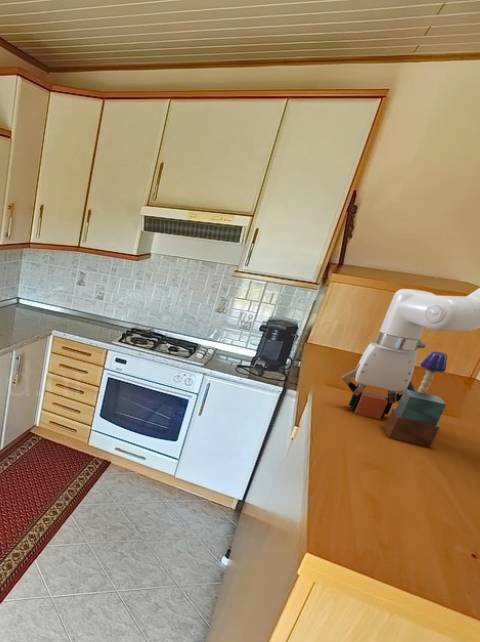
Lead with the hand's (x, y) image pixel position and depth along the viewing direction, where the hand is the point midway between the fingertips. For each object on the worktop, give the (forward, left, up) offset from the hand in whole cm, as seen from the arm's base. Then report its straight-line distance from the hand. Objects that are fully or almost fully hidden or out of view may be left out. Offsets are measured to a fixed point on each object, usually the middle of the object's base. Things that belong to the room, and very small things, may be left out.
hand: (366, 411), depth 121 cm
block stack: (-6, +12, 0) cm, 13 cm away
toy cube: (0, 0, 0) cm, 0 cm away
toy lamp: (-10, -8, -1) cm, 13 cm away
